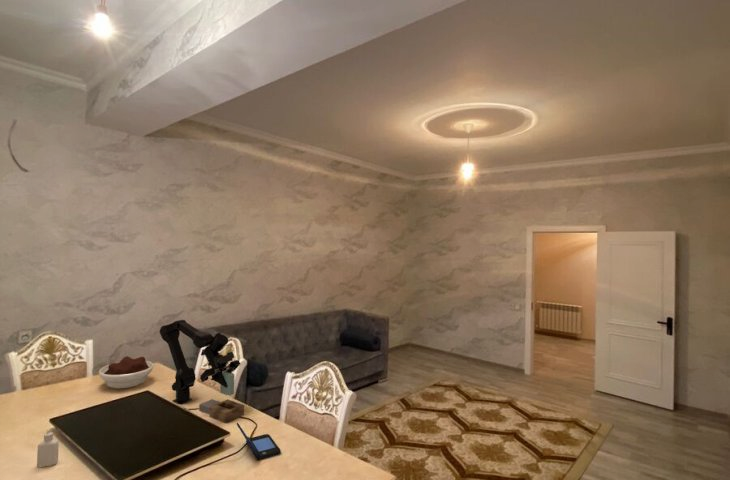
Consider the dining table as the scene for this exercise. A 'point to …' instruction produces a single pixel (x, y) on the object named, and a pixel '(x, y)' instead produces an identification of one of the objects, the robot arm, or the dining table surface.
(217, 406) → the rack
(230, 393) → the block
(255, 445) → the handheld game console
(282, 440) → the dining table surface
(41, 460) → the eye dropper bottle
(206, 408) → the plate
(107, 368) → the bowl of chocolate mousse
